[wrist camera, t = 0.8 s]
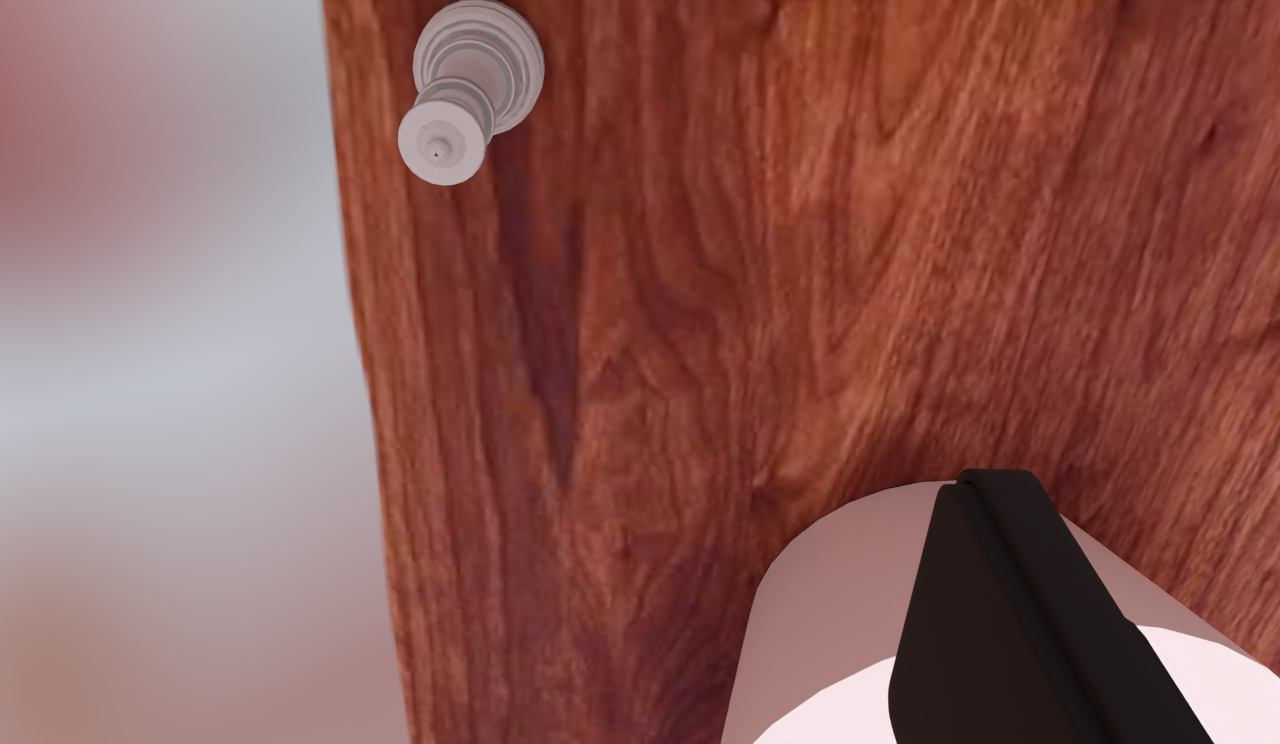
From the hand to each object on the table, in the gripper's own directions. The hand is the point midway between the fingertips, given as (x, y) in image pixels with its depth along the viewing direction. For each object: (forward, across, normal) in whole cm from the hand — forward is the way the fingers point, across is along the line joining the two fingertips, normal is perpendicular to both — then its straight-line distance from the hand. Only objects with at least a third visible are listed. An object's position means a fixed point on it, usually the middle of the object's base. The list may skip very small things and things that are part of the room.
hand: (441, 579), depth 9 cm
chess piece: (+28, +3, +2) cm, 28 cm away
